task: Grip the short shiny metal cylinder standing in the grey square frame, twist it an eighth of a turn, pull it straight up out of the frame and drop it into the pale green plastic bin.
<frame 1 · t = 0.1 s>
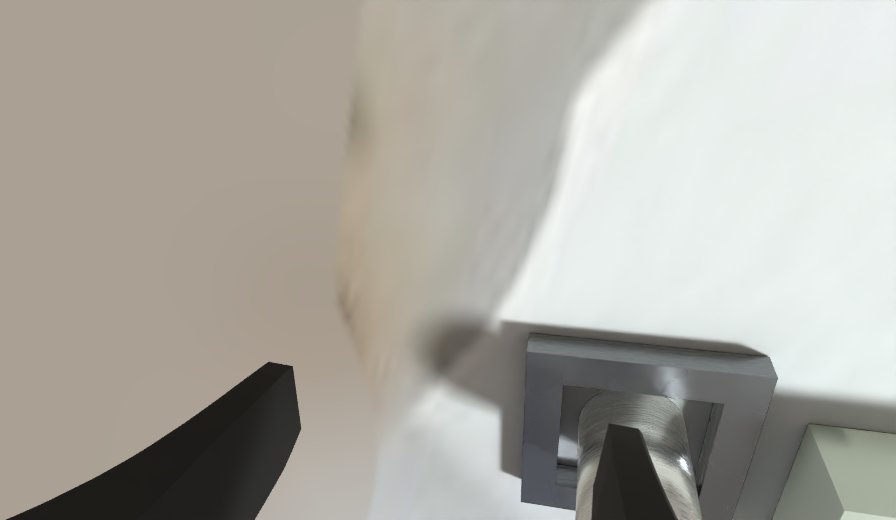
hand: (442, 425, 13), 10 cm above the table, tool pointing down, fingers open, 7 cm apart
grey square frame: (630, 426, 25), on the table
shiny metal cylinder: (630, 426, 25), resting in grey square frame
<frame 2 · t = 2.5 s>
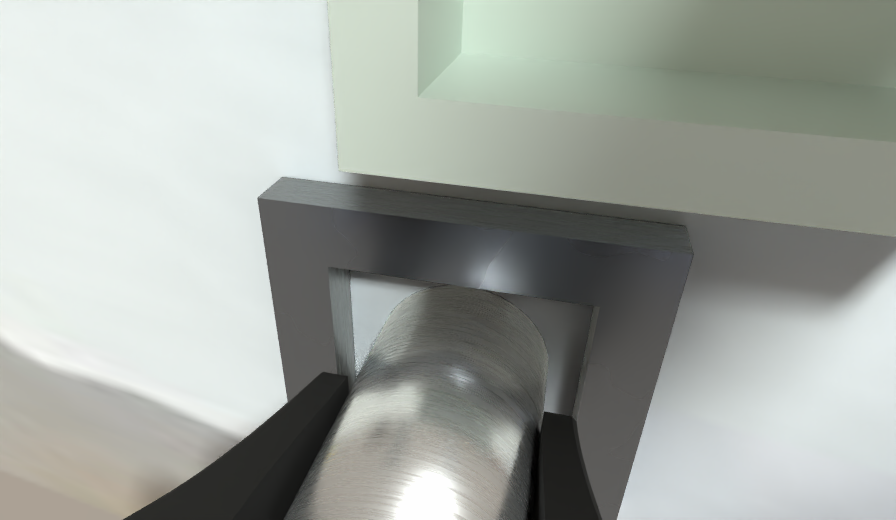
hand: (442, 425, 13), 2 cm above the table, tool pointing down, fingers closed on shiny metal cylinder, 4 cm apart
grey square frame: (462, 357, 15), on the table
shiny metal cylinder: (462, 356, 15), resting in grey square frame, touching gripper
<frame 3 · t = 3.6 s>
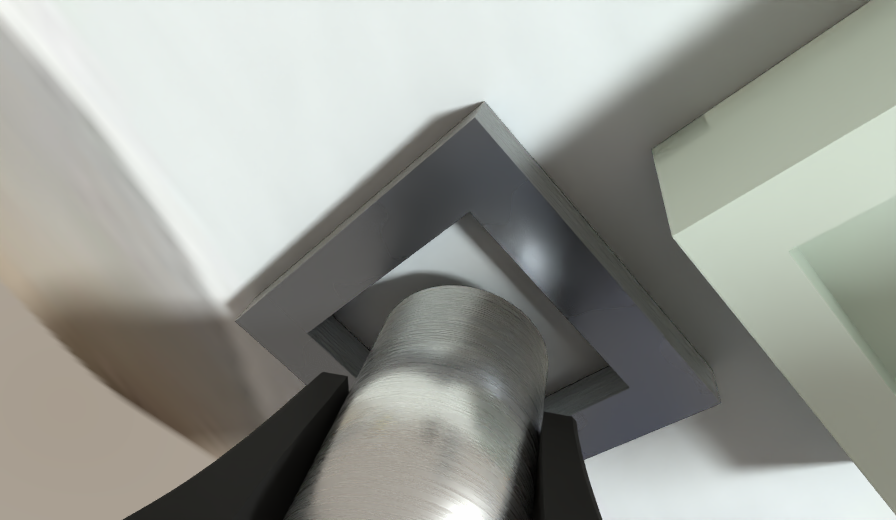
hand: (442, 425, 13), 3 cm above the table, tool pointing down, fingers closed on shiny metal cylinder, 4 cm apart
grey square frame: (469, 331, 16), on the table
shiny metal cylinder: (462, 356, 15), point 1 cm above the table, touching gripper
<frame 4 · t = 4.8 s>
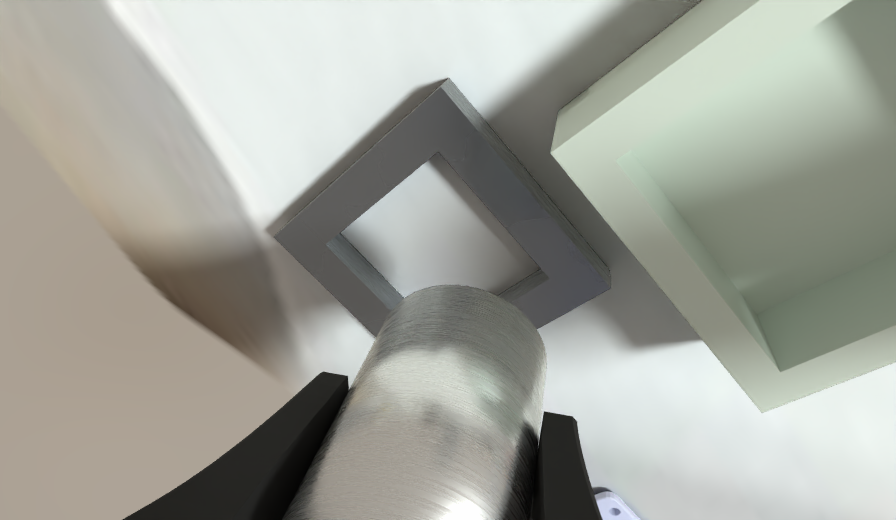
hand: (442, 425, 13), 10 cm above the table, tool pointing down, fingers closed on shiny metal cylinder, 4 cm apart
grey square frame: (441, 245, 22), on the table
bin: (811, 137, 18), on the table
shiny metal cylinder: (461, 356, 15), point 7 cm above the table, touching gripper
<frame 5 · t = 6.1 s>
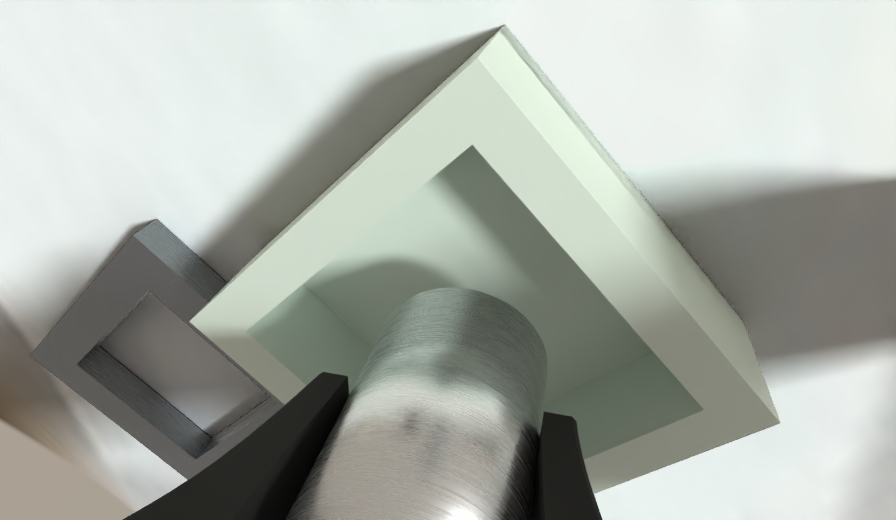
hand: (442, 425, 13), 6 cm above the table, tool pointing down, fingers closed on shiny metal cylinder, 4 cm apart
grey square frame: (192, 362, 23), on the table
bin: (484, 284, 18), on the table
shiny metal cylinder: (462, 358, 15), point 4 cm above the table, touching gripper
when the fingers open (4 cm above the table, at t = 7.3 s): shiny metal cylinder stays where it is, resting on bin.
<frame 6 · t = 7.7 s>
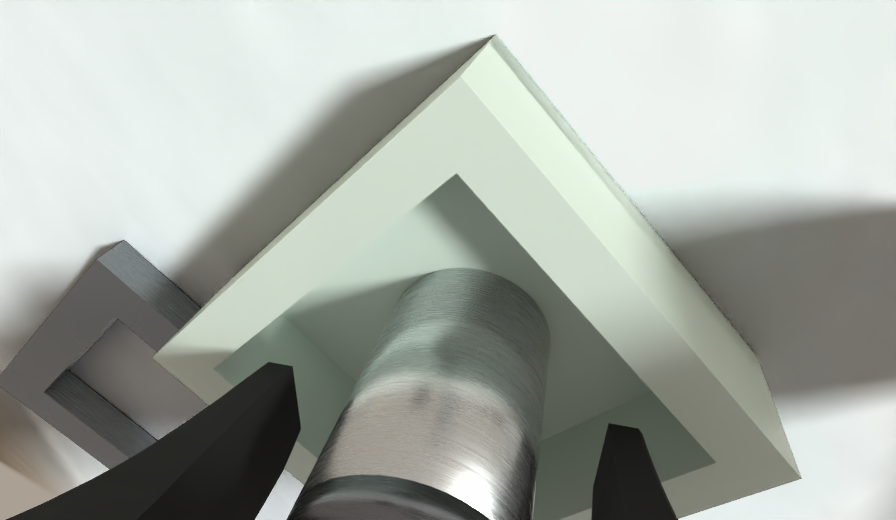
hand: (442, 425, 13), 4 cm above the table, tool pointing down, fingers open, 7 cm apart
grey square frame: (167, 389, 22), on the table
bin: (476, 313, 17), on the table
shiny metal cylinder: (469, 336, 16), point 1 cm above the table, touching bin
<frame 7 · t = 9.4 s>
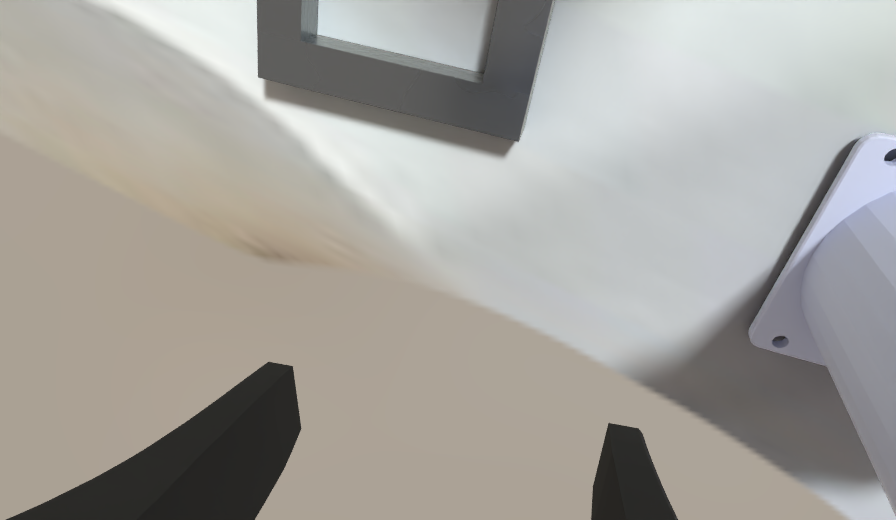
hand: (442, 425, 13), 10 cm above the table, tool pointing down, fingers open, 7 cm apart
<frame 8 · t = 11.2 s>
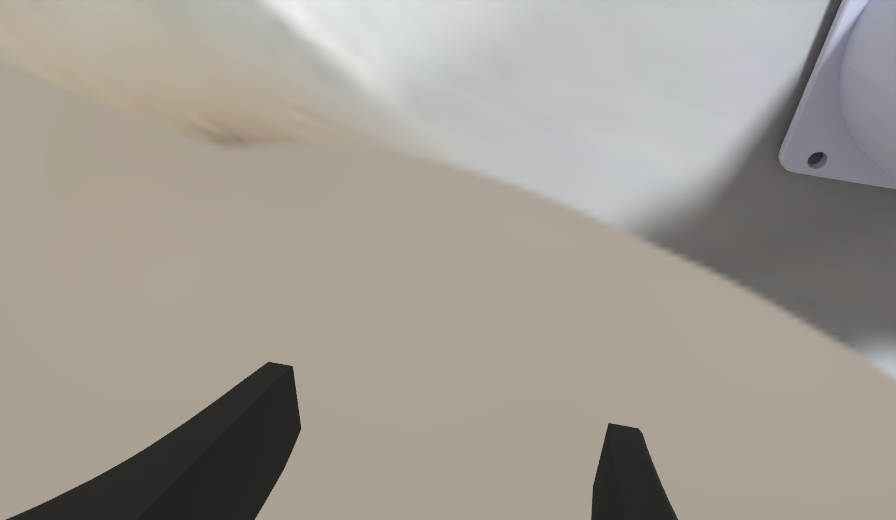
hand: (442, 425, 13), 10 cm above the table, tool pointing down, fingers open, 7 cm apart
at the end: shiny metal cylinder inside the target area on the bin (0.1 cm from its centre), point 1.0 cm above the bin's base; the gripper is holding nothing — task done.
